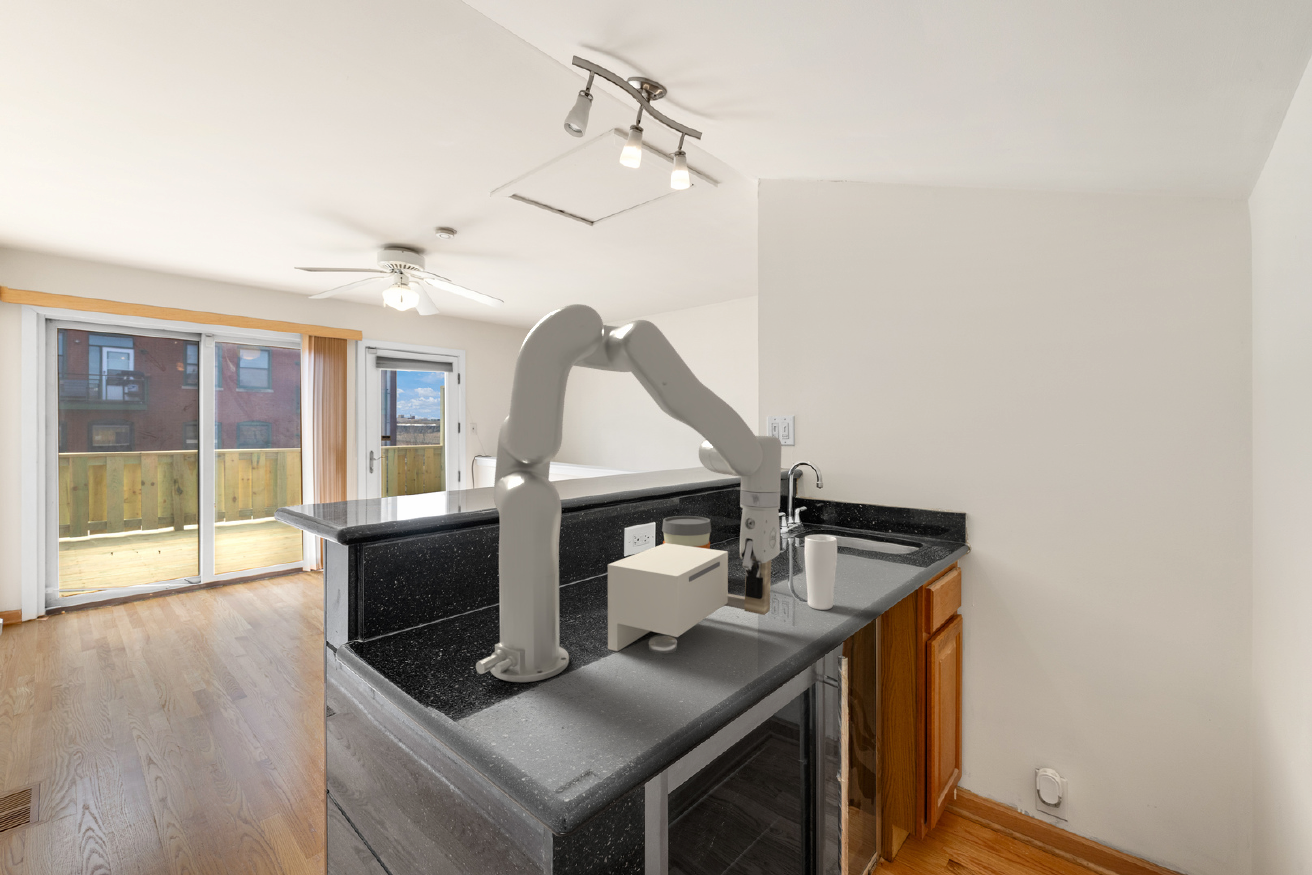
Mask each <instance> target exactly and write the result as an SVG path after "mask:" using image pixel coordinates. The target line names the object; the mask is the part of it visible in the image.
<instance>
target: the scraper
mask: <svg viewBox="0 0 1312 875" xmlns="http://www.w3.org/2000/svg"><path fill="white" fill-rule="evenodd" d="M752 560H756V558H755V557H753V558H752ZM753 565H755V566H756V568H757V564H753ZM744 575H745V574H744ZM771 576H772V559H771V560H770V561H768V562H766V563H762V570H761V578H763V595H762V598H761V599H756V598H751V597H747V596H746V575H745V578H744V579H745V581H744V583H745V584H744V585H745V586H744V596H742V595H738V594H731V593H728V603H727V604H725V605H724V606H726V607H729V608H730V607H731V608H736V609H741V610H744V612H748V613H753V614H756V615H762V616H765V615H766V614H768V613H769V612H770V611H771V610H770V609H771V584H772V583H771V582H772V581H771V580H772V579H771Z"/></svg>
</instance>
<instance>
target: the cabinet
mask: <svg viewBox="0 0 1312 875" xmlns="http://www.w3.org/2000/svg"><path fill="white" fill-rule="evenodd" d="M728 576H729V551H727V550H719V549H713V548H712V549H711V548H710V549H706V548H698V547H691V546H683V545H676V544H668V543H664V544H663V543H662V544H660V545H657V546H653V547H652V548H648V549H645V550H643V551H641V552H637V553H635V554H632V555H630V556H627V557H625V558H622V559H618V560H616V561H614V562H611V563H608V564H607V649H608V650H609V651H614V652H619V651H620V650H622V649H624V648H625V647H627V646H629V645H630V644H632V643H633V642H635V641H637V640H638V639H640V638H642V637H643V636H645V635H646V634H648V633H650V632H653V633H657V634H662V635H665V636H670V637H673V638H679V637H680V636H681V635H683V634H684V633H686V632H687V631H689V630H690V629H692V628H693V627H694V626H696V625H698V624H699V623H700V622H701V621H703V620H704V619H706V618H707V617H709V616H711V615H712V614H714V613H715V612H716V611H718V610H719V609H720V608H722V607H724V606H725V604H727V603H728V594H729V592H728V590H729V589H728V588H729V586H728V585H729V582H728V581H729V580H728V579H729V577H728Z"/></svg>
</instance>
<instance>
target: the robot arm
mask: <svg viewBox="0 0 1312 875" xmlns="http://www.w3.org/2000/svg"><path fill="white" fill-rule="evenodd" d="M573 366H575V367H580V368H587V369H592V370H593V369H594V370H600V371H605V372H607V371H609V372H618V373H631V374H632V375H633V376H634V377H635V379H636V380H637V381H638V382H639V384H641V386H642V388H644V389H645V391H646V392H647V394H649V396H650V397H651V398H652V400H653V401H654V402H655V403H656V405H657V406H658V408H659V409H660V410H661V411H662V412H664V413H665V414H666V415H668V416H669V417H671V418H673V419H674V420H676V421H678V422H681V423H683V424H685V425H686V426H688V427H690V428H692V429H693V430H694V431H695V432H697V433H698V434H699V435H700V436H701V437H702V438H704V440H703V441H702V442H701V444H700V446H699V448H698V459H699V461H700V463H701V464H702V465H703V467H704V468H705V469H706V470H708V471H709V472H713V473H715V474H722V475H728V476H734V477H739V478H740V494H739V495H740V499H739V506H740V508H741V509H742V511H741V512H742V514H741V520H740V532H739V558H740V559H741V560H742V568H743V569H744V570H745V574H744V575H746V596H747V597H751V598H756V599H761V598H762V595H763V578H761V570H762V563H766V562H768V561H770V560H771V561H772V560H773V559H775V558H776V557H778V556H779V555H780V554H781V535H780V534H781V532H780V513H779V510H780V509H781V508H780V507H781V478H782V477H781V475H782V474H781V473H782V472H781V471H782V442H781V440H780V438H778V437H777V436H773V435H755V433H754V432H753V431H752V430H751V428H750V426H749V425H748V424H747V423H746V421H744V419H743V418H742V417H741V415H740V414H739V413H738V412H737V411H736V410H735V409H734V408H733V407H732V406H730V405H729V404H728V403H727V402H726V401H725V400H723V399H722V398H721V397H719V395H717V394H716V393H715V392H714V391H712V390H711V389H710V388H709V387H707V386H706V385H704V384H703V383H702V381H700V380H699V379H698V377H697V376H696V375H695V374H694V372H692V370H691V369H690V367H689V366H688V364H686V362H685V361H684V359H683V358H682V357H681V356H680V354H679V352H677V351H676V349H675V348H674V346H673V345H672V344H671V343H670V341H669V340H668V339H667V337H666V336H665V334H663V332H662V330H660V328H658V326H657V325H655V324H654V323H653V322H652V321H649V320H647V319H637V320H633V321H630V322H628V323H625V324H624V325H622V326H616V325H615V326H614V325H607V324H604V322H603V319H602V316H601V315H600V314H599V313H598V311H597V310H596V309H594V308H593V307H591V306H589V305H586V304H577V303H576V304H570V305H565V306H563V307H560V308H558V309H555V310H554V311H551V312H550V313H548V314H547V315H545V316H544V317H543V318H541V319H540V320H539V321H538V322H537V323H536V324H535V326H533V328H532V329H531V330H530V331H529V332H528V334H527V336H526V337H525V338H524V340H523V343H522V344H521V347H520V349H519V352H518V355H517V358H516V362H515V367H514V368H515V369H514V373H513V374H514V375H513V382H512V389H511V398H510V408H509V414H508V415H507V417H505V419H504V420H503V421H502V424H501V426H500V429H499V433H498V438H497V451H496V461H495V472H494V483H493V484H494V487H493V499H494V504H495V508H496V510H497V512H498V513H499V514H498V516H499V538H498V540H499V541H498V578H499V581H498V582H499V642H498V643H496V644H494V652H492V654H491V655H490V656H487V657H485V658H483V659H481V660H478V661H477V662H476V664H475V669H476V672H477V673H478V674H479V675H482V674H485V673H486V672H490V673H491V674H492V675H493V677H496V678H497V679H499V680H503V681H505V682H511V683H529V682H530V683H531V682H537V681H542V680H545V679H549V678H552V677H555V676H556V675H558V674H560V673H562V672H563V671H564V670H565V669H566V668H567V667H568V666H569V663H570V655H569V653H568V651H567V650H566V649H565V648H563V647H561V646H560V568H559V567H560V564H559V563H560V562H559V560H560V555H559V554H560V553H559V552H560V534H561V533H560V532H561V521H562V503H561V502H562V501H561V497H560V494H559V491H558V489H557V487H556V486H555V485H554V483H552V481H550V480H549V479H550V467H551V460H553V459H554V458H555V457H556V456H557V454H558V453H559V451H560V449H561V447H562V443H563V442H562V441H563V425H564V422H563V421H564V412H565V396H566V391H567V385H568V384H567V383H568V380H569V379H568V378H569V376H570V375H569V374H570V372H571V370H572V368H573ZM753 557H755V558H756V560H752V558H753ZM753 564H757V568H756V566H755V565H753Z"/></svg>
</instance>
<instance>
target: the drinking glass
mask: <svg viewBox="0 0 1312 875" xmlns="http://www.w3.org/2000/svg"><path fill="white" fill-rule="evenodd" d="M837 562H838V539H837V538H836V537H835V536H831V535H826V534H809V535H805V536H804V565H805V568H804V569H805V577H806V578H805V580H806V589H807V590H806V591H807V593H806V594H807V602H806V603H807V605H808V606H809V607H810V608H812V609H814V610H820V611H823V610H824V611H827V610H831V609H832V608H833V606H834V595H835V594H834V592H835V584H836V581H835V580H836V572H837V571H836V570H837Z"/></svg>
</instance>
